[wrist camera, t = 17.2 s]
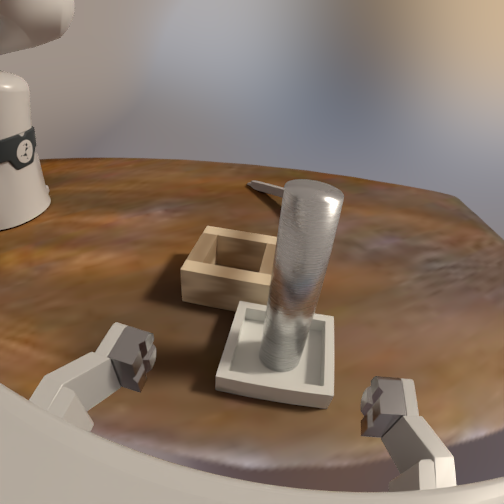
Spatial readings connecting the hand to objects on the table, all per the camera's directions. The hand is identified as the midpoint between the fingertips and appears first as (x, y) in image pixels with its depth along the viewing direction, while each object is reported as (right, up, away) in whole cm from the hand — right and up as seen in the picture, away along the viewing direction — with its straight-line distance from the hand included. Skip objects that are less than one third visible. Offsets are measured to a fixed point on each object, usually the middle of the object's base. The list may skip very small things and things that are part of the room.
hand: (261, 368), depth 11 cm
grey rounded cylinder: (+2, -5, +16) cm, 17 cm away
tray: (+2, -5, +16) cm, 17 cm away
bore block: (-2, +1, +25) cm, 25 cm away
